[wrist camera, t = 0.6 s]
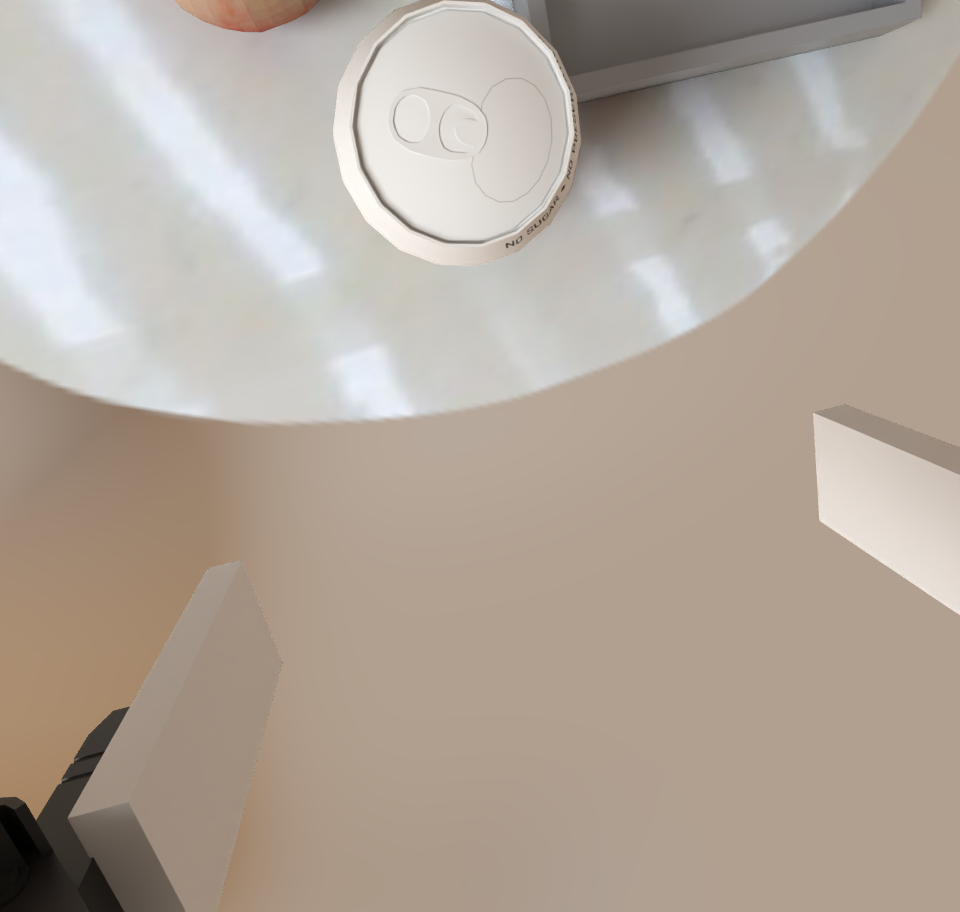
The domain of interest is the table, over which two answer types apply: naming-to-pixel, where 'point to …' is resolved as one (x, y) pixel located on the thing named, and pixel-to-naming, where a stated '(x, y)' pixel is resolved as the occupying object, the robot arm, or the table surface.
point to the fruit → (247, 12)
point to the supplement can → (457, 130)
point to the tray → (696, 35)
